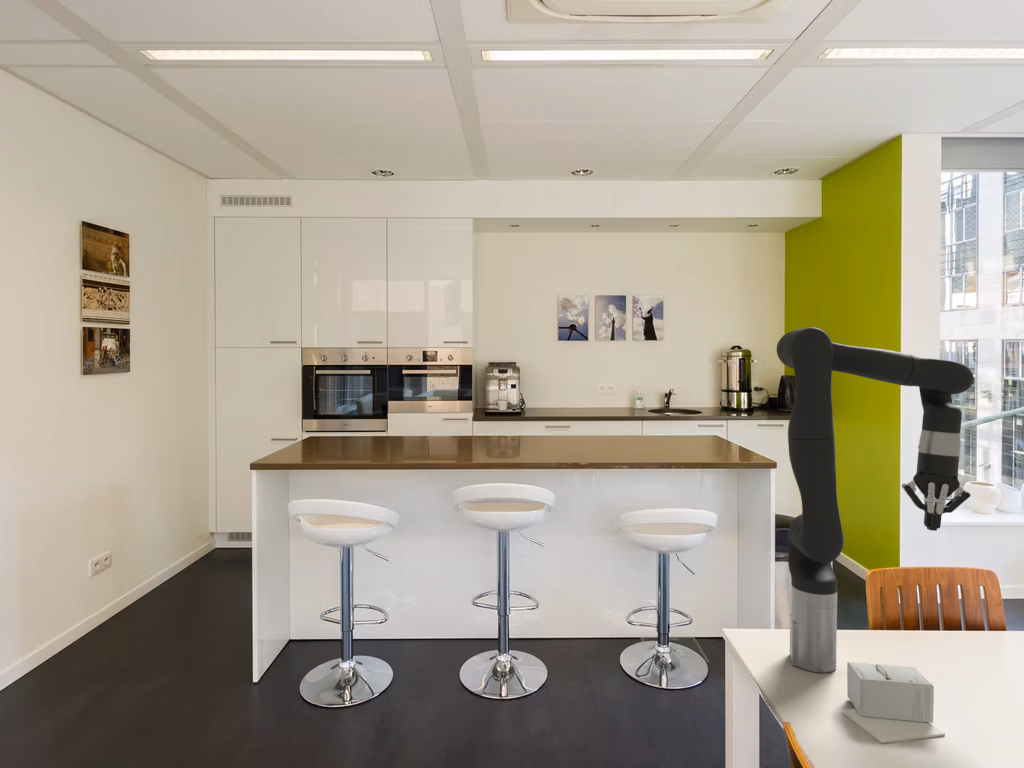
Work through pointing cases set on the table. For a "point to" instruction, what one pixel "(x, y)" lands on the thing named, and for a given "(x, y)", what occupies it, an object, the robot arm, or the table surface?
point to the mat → (893, 728)
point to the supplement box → (890, 692)
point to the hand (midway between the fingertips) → (931, 529)
